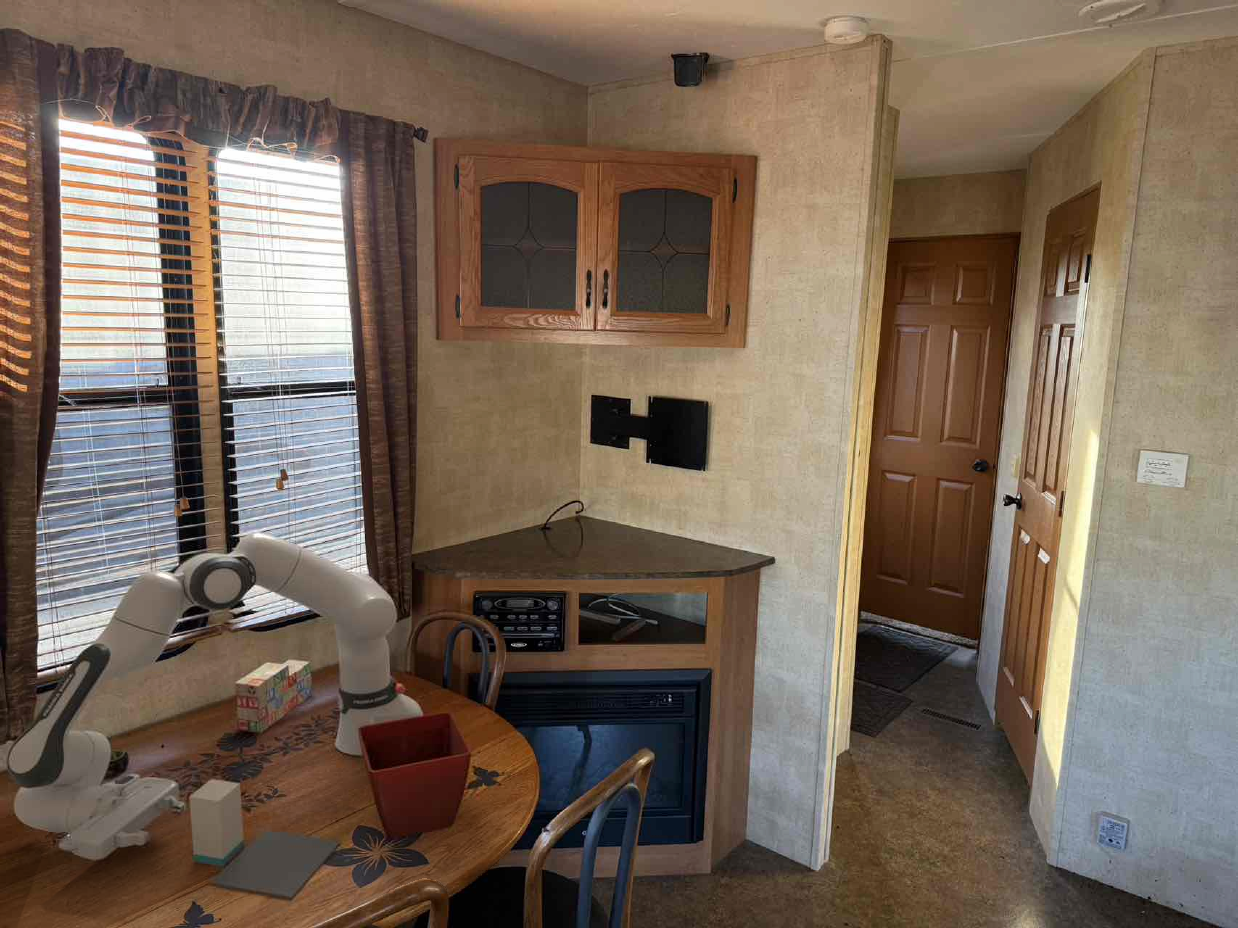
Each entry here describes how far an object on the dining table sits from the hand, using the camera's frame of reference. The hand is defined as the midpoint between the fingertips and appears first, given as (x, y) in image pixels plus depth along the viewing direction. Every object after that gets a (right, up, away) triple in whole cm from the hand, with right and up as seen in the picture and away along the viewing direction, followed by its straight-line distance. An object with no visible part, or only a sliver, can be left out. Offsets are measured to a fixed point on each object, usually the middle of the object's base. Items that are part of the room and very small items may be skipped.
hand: (165, 823), depth 157 cm
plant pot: (+41, -6, +17) cm, 45 cm away
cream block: (+8, -7, +4) cm, 12 cm away
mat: (+20, -8, +2) cm, 21 cm away
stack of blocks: (-3, +3, +60) cm, 60 cm away
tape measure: (-29, -2, +31) cm, 42 cm away
